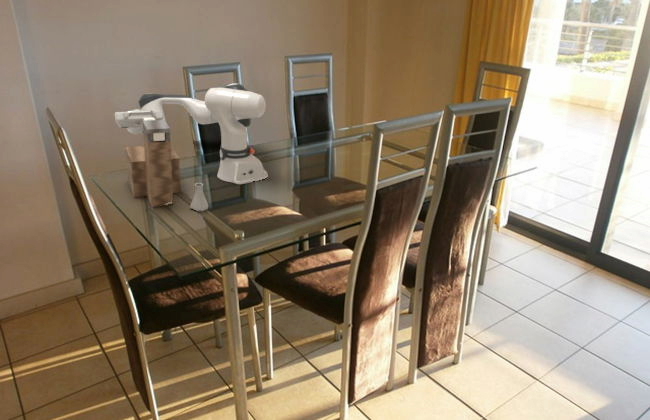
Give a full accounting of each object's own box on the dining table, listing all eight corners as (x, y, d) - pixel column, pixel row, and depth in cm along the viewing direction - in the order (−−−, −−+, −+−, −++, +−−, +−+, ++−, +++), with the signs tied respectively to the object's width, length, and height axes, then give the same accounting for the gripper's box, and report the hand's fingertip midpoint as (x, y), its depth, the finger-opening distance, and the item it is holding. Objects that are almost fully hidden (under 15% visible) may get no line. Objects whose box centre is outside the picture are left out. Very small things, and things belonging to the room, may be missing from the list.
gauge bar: (154, 124, 206) (153, 116, 204) (165, 140, 188) (164, 131, 186) (143, 125, 204) (143, 116, 202) (153, 141, 186) (153, 131, 185)
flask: (204, 213, 197) (203, 189, 193) (186, 210, 198) (185, 186, 194) (211, 205, 203) (211, 182, 199) (194, 202, 204) (194, 179, 200)
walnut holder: (172, 177, 223) (169, 107, 209) (185, 203, 203) (184, 127, 189) (128, 181, 215) (122, 108, 201) (137, 208, 195) (132, 130, 181)
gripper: (162, 125, 237) (166, 118, 225) (114, 127, 228) (116, 121, 216) (160, 111, 237) (164, 104, 225) (112, 113, 228) (114, 106, 216)
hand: (140, 112), depth 220 cm, fingers open, 8 cm apart
